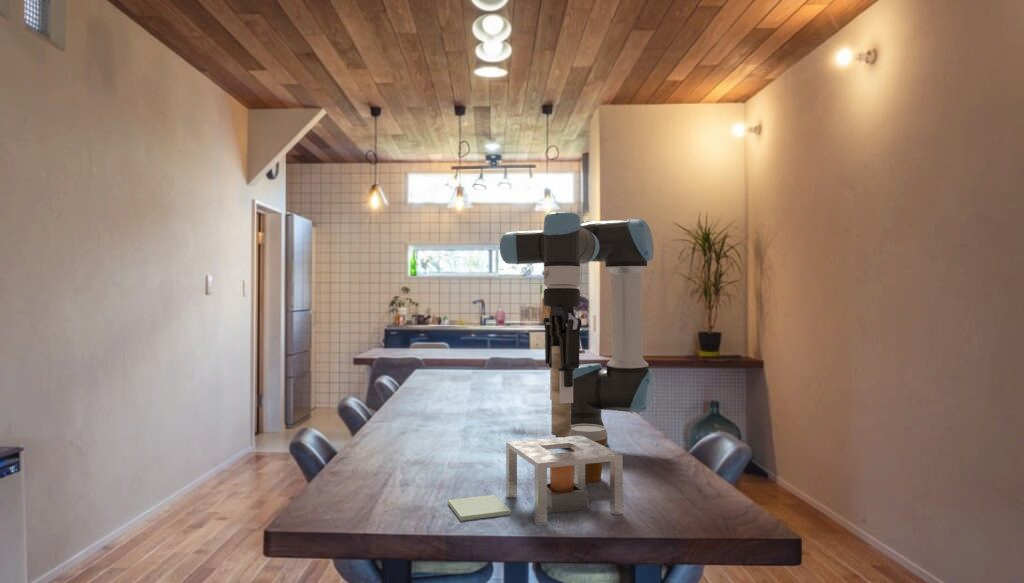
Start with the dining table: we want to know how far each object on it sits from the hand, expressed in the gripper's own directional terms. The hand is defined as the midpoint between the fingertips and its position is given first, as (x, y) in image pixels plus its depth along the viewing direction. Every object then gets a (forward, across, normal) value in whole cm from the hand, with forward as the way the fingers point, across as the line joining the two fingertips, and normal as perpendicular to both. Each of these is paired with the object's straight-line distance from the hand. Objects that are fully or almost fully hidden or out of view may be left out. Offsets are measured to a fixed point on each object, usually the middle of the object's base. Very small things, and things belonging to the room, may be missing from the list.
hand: (561, 400), depth 123 cm
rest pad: (+21, -3, -17) cm, 27 cm away
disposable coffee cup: (+21, -14, +13) cm, 29 cm away
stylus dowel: (+7, 0, 0) cm, 7 cm away
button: (+18, 0, 0) cm, 18 cm away
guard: (+21, 0, 0) cm, 21 cm away
